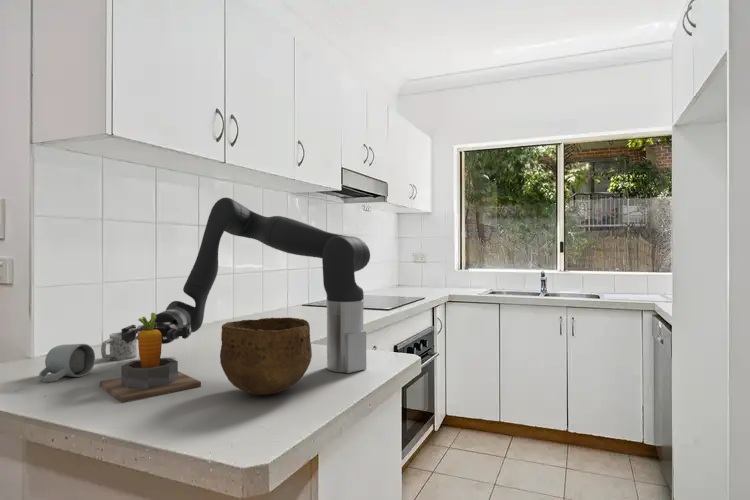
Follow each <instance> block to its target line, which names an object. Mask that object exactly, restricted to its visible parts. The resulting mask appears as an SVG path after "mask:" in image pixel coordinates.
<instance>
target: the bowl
mask: <svg viewBox="0 0 750 500" xmlns="http://www.w3.org/2000/svg"><path fill="white" fill-rule="evenodd" d="M310 333H311V326H310V323H309V322H308V320H306V319H304V318H303V319H302V318H297V317H264V318H263V317H262V318H259V319H241V320H235V321H227V322H226V323H223V324H222V326H221V333H220V335H221V337H220V338H221V340H220V341H221V346H220V354H219V363H220V365H221V368H222V371H223V373H224V375H225V376H226V378H227V380H228V381H229V382H230V383H231V384H232V386H233V387H236V388H237V389H239V390H241V391H243V392H245V393H247V394H250V395H255V396H265V395H272V394H278V393H281V392H283V391H285V390H287V389H289V388H291V387H292V386H294V385H295V384H297V383H298V382H299V381H300V380H301V379H302V378H303V377H304V374H306V372H307V370H308V368H309V366H310V364H311V361H312V356H313V352H312V351H313V350H312V344H311V334H310Z"/></svg>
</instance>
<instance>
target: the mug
mask: <svg viewBox="0 0 750 500" xmlns="http://www.w3.org/2000/svg"><path fill="white" fill-rule="evenodd" d="M136 336H137V333H136ZM137 340H138V339H137ZM137 340H133V341H132V342H130V343H126V342H125V341H124V340H121V331H120V332H114V333H110V334H109V338H108V339H106V340H104V341H102V342H101V347H100V354H101V358H102V359H105V360H106V359H107V360H108V359H109V360H110V361H126V360H132V359H135V358H137V355H138V353H137V349H138V348H137V345H138V341H137ZM108 344H109V353H108V354H107V352H106V351H107V350H106V349H107V345H108Z"/></svg>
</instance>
